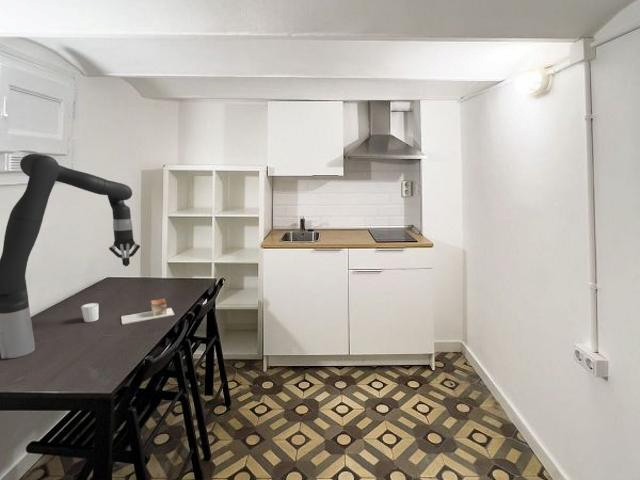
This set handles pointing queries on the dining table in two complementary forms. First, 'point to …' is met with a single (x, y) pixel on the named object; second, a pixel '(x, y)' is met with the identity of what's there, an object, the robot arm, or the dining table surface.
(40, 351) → the dining table surface
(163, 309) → the maple cube
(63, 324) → the dining table surface
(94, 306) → the white cup
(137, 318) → the mat
